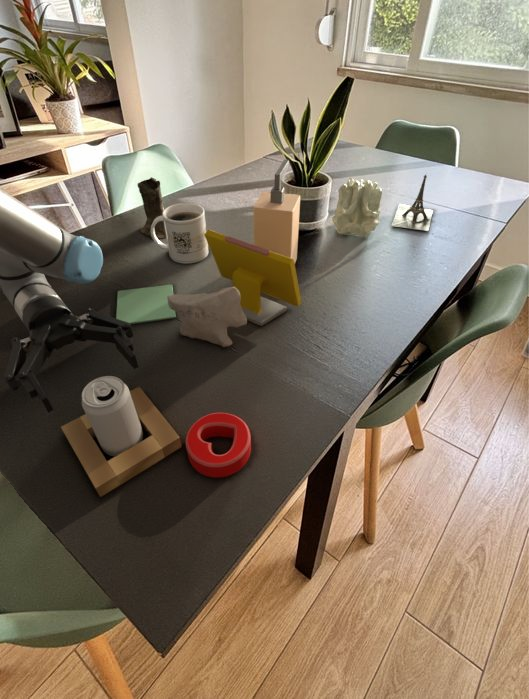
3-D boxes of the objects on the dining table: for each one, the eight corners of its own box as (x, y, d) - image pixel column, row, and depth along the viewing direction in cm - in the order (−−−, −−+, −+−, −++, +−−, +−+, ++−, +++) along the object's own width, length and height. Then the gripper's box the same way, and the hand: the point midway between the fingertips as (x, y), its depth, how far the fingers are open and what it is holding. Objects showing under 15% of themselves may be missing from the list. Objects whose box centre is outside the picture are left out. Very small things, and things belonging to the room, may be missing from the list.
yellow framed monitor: (301, 314, 89) (306, 247, 78) (280, 335, 84) (283, 267, 74) (225, 284, 97) (221, 219, 87) (203, 301, 93) (195, 235, 82)
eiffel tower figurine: (398, 205, 128) (408, 158, 119) (433, 210, 125) (446, 163, 116) (391, 227, 118) (401, 178, 108) (429, 233, 115) (443, 184, 106)
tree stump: (182, 222, 119) (174, 173, 110) (170, 239, 112) (160, 189, 103) (148, 219, 121) (138, 171, 112) (134, 236, 114) (122, 186, 105)
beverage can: (113, 467, 63) (90, 416, 55) (95, 439, 67) (71, 388, 58) (151, 443, 66) (135, 392, 58) (132, 418, 70) (114, 366, 61)
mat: (116, 326, 87) (115, 324, 86) (118, 292, 95) (117, 290, 95) (175, 318, 88) (175, 316, 88) (172, 285, 97) (172, 284, 97)
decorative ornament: (261, 438, 67) (261, 425, 65) (230, 488, 60) (228, 476, 58) (210, 415, 70) (208, 402, 68) (175, 460, 64) (172, 448, 62)
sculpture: (253, 345, 82) (252, 280, 72) (244, 361, 79) (241, 295, 69) (178, 325, 87) (166, 261, 76) (166, 339, 84) (153, 274, 73)
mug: (187, 269, 102) (180, 226, 94) (153, 253, 107) (144, 212, 100) (216, 251, 108) (212, 209, 100) (182, 237, 113) (177, 196, 106)
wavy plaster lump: (360, 258, 118) (380, 224, 104) (317, 240, 119) (331, 204, 104) (380, 209, 124) (401, 171, 109) (338, 192, 125) (354, 152, 110)
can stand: (100, 497, 59) (95, 488, 58) (65, 436, 67) (60, 426, 65) (182, 446, 66) (179, 437, 64) (142, 396, 73) (139, 386, 71)
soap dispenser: (289, 277, 99) (294, 183, 84) (254, 272, 101) (252, 179, 86) (300, 250, 108) (305, 161, 93) (267, 246, 110) (267, 157, 95)
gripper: (115, 304, 84) (170, 363, 72) (-22, 360, 73) (16, 441, 61) (105, 271, 79) (162, 329, 67) (-44, 326, 68) (-7, 408, 56)
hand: (93, 382), depth 64 cm, fingers open, 13 cm apart
